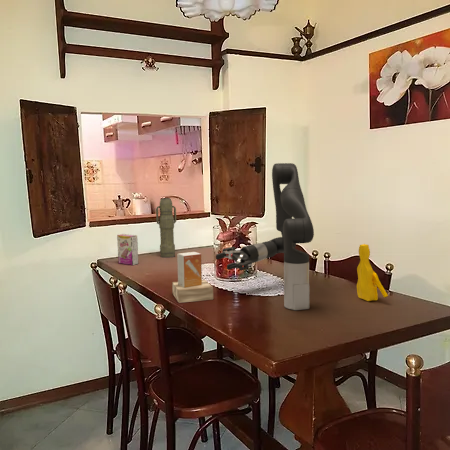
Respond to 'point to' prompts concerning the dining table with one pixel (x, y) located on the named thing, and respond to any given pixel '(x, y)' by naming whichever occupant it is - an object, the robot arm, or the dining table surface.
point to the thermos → (166, 227)
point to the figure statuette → (367, 277)
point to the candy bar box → (127, 249)
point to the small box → (189, 269)
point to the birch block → (192, 292)
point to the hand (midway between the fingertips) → (221, 262)
